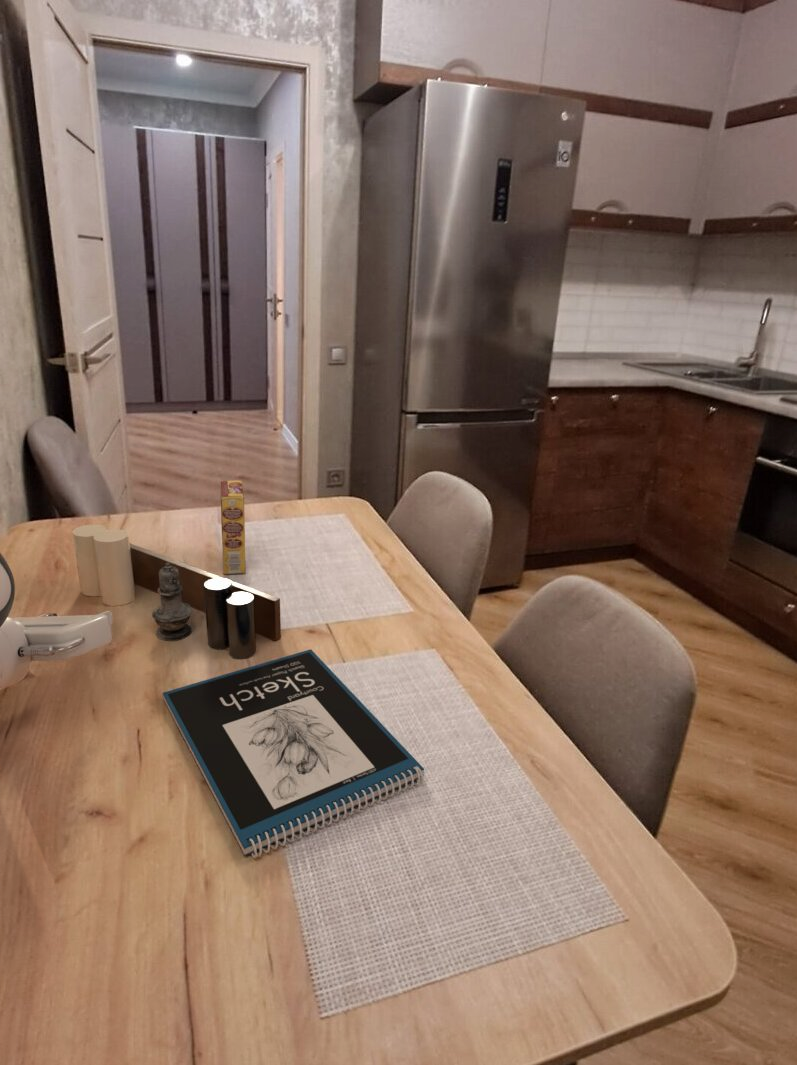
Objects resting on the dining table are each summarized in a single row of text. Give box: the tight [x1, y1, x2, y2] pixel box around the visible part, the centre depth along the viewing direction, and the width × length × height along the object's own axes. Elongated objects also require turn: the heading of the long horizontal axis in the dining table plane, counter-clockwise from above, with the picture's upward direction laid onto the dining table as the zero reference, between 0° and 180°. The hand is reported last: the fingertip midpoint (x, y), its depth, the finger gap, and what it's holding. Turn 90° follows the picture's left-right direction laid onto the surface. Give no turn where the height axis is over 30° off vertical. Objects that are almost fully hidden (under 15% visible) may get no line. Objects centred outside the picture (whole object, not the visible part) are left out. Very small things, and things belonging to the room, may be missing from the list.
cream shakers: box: [71, 523, 137, 607], centre depth 111 cm, size 11×5×12 cm, turn 59°
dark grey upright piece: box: [151, 562, 193, 642], centre depth 101 cm, size 6×6×12 cm
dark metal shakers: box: [204, 577, 257, 660], centre depth 98 cm, size 8×4×10 cm, turn 59°
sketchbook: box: [162, 648, 425, 860], centre depth 81 cm, size 22×30×2 cm
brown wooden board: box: [129, 542, 282, 642], centre depth 110 cm, size 38×1×7 cm, turn 59°
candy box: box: [219, 479, 246, 575], centre depth 123 cm, size 9×4×15 cm, turn 14°
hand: (80, 617), depth 91 cm, fingers open, 8 cm apart
